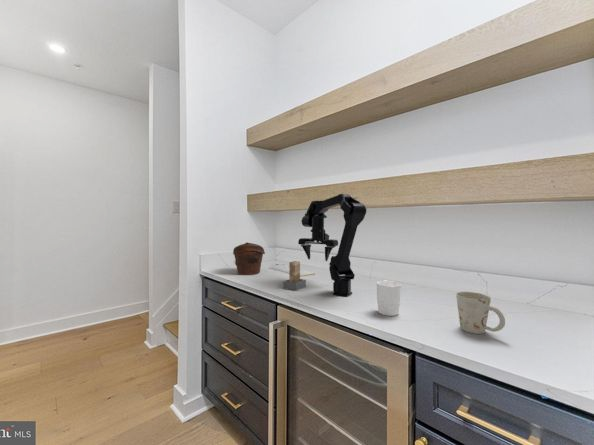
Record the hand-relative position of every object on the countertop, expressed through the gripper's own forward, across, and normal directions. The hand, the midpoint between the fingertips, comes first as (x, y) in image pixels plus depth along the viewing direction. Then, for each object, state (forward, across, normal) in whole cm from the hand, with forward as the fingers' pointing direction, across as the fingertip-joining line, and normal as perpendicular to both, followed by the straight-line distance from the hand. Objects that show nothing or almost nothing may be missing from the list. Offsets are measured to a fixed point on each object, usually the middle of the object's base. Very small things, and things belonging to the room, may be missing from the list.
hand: (317, 260), depth 132 cm
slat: (+11, +7, +10) cm, 16 cm away
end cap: (+12, +7, +10) cm, 17 cm away
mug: (+12, -64, +24) cm, 69 cm away
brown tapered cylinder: (+12, +48, -5) cm, 50 cm away
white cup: (+12, -38, +21) cm, 45 cm away
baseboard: (+13, +30, -22) cm, 39 cm away
